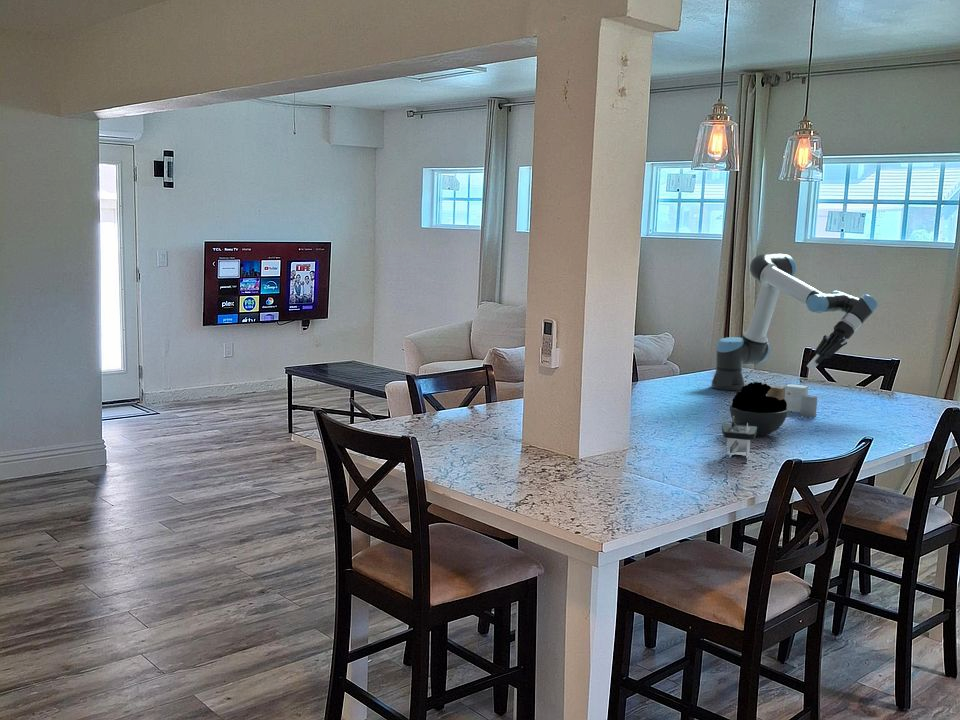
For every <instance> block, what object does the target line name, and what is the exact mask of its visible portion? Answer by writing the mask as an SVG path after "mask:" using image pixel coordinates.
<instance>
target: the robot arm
mask: <svg viewBox="0 0 960 720" xmlns="http://www.w3.org/2000/svg"><path fill="white" fill-rule="evenodd" d="M749 271H750V275H751V276H752V277H753V279H755V280H756V281H758V282H760V283H761V286H760V290H759V292H758V296H757V299H756V303H755V306H754V310H753V313H752V315H751V319H750V323H749V325H748V329H747V331H745V332H743V335H742V336H741V337H739V336H738V337H737V336H736V337H735V336H731V337H723V338H720V339H719V340H718V341H717V343H716V344H717V346H716V361H715V362H716V364H715V373H714V374H713V376H712V377H713V378H712V381H711V382H710V383H711V386H710V388H712V387H713V388H712V389H714V388H715V390H719V389H720V390H719V391H730V390H736V391H737V392H738V391H741V389H742V387H743V386H745V385H746V384H745V380H744V379H745V378H744V375H743V371H742V370H743V366H744V365H757V364H760V363H764V362H765V361H766V360H767V359H768V357H769V355H770V352H771V347H770V344H769V339H768V337H767V333H768V332H769V328H770V324H771V321H772V318H773V315H774V311H775V309H776V307H777V306H776V305H777V303H778V298H779V296H780V292H783V293H784V294H786V295H788V296H790V297H791V298H794V299H795V300H797V301H799V302H801V303H802V304H804V305H806V307H807V308H808V309H807V310H808V311H810V312H811V313H817V314H818V313H819V314H821V313H831V312H832V313H834V312H836V313H837V312H842V313H845V314H844V315H843V316H842V317H841V318H840V321H838V322H837V323H836V324H835V325H834V326H833V331H832V332H831V333H830V334H829V335H826V334H825V335H823V337H822V340H821V341H820V343H819V344H818V345H817V347H816V348H815V350H814V354H815V355H814V356H813V358H811V360H810V361H809V362H808V364H807V365H806V367H807V368H808V369H809V370H810V371H812V372H813V371H814V370H815V369H816V368H817V366H819V364H820V363H821V362H822V361H823V360H826V359H830V358H831V357H832V356H833V355H834V354H835V353H837V352H838V351H839V350H841V348H842V347H844V346H846V345H848V342H847V341H846V340H849V339H851V337H852V336H853V335H854V334H855V332H856V331H857V330H858V329H859V328H861V326H862V325H863V324H864V322H865V321H866V320H867V319H868V318H869V317H871V315H873V313H874V312H875V310H876V309H877V308H878V306H879V305H878V302H877V300H876V299H875V297H873V296H871V295H870V294H862V296H860V297H856V296H854V295H850V294H848V293H845V292H844V291H839V290H833V291H832V292H830V293H824V292H822V291H821V290H820V291H819V290H818V289H816V288H814V287H813V286H811V285H809V284H807V283H805V282H804V281H802V280H800V279H799V278H797V277H795V274H796V271H797V266H796V262H795V259H793V257H792V256H791V255H789V254H786V253H762V254H758V255H756V256H755V257H754V258H753V259H752V260H751V262H750V264H749Z"/></svg>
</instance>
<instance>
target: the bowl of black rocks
mask: <svg viewBox="0 0 960 720" xmlns="http://www.w3.org/2000/svg"><path fill="white" fill-rule="evenodd" d="M770 389H771V385H768V384H767V383H762V382H761V381H760V382H759V381H754V382H749V383H748V384H745V386H743V387H742V389H741V390H740V391H737V392H736V393H735V395H734V397H733V398H732V401H731V402H732V404H730V405H729V412H730V417H731V419H733V416H734V422H736V423H734V424H735V425H738V424H739V423H740V425H745V426H747V425H746V424H743V423H748V426H756V427H757V434H756V436H758V435H760V436H765V435H770V434H771V433H772V434H773V433H774V432H776V431H777V430H778V429H780V427H781V426H782V425H783V424H784V422H785V421H786V418H787V416H788V412H789V411H788V410H787V403H786V401H785V400H784V399H782V400H778V398H775V397H768V396H767V393H768V391H769V390H770ZM737 423H738V424H737ZM741 423H742V424H741Z"/></svg>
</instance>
